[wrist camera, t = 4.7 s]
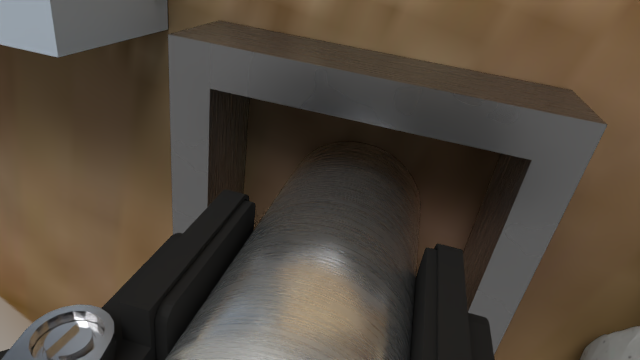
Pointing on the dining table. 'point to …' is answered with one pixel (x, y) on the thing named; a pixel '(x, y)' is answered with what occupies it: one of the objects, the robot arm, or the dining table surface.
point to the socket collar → (394, 113)
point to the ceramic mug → (615, 346)
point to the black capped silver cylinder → (320, 268)
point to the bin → (77, 23)
